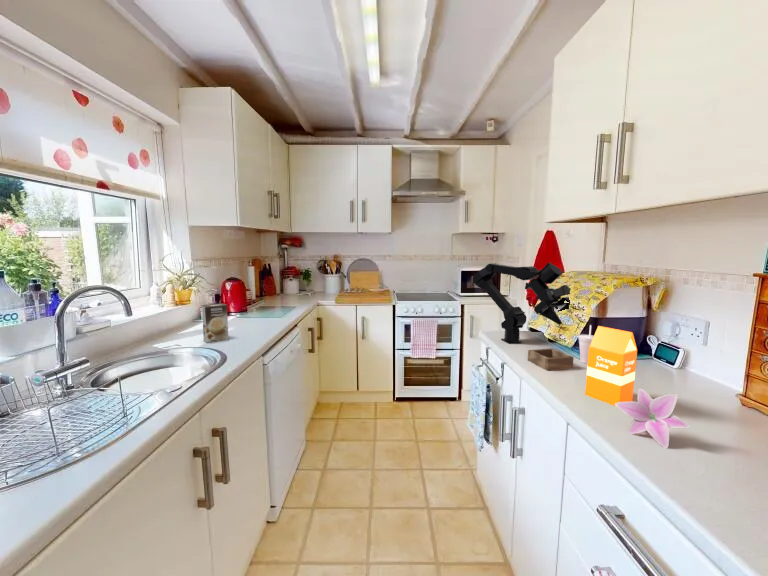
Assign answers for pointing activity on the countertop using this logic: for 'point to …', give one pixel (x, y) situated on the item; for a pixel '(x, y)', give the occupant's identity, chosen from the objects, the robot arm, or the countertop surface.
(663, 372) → the countertop surface
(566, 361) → the brown wooden tray
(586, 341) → the smoothie
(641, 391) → the lily
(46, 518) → the countertop surface
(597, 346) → the orange juice
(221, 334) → the coffee box
